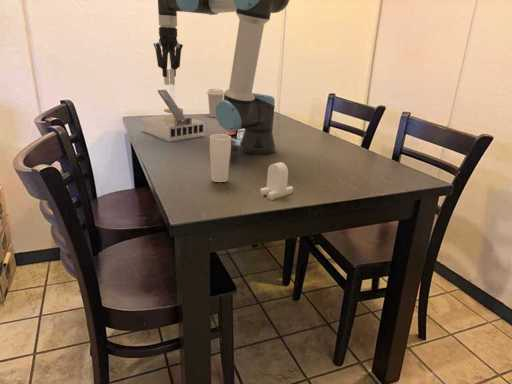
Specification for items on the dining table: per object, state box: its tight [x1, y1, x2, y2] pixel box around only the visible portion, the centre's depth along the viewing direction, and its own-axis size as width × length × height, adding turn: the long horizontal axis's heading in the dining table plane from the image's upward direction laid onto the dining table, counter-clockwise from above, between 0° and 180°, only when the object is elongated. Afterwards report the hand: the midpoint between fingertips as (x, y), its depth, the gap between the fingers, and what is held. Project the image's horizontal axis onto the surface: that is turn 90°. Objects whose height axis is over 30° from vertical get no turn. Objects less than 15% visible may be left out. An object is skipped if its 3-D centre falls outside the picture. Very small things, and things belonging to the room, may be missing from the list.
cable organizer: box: [259, 161, 294, 197], centre depth 117 cm, size 5×10×10 cm, turn 133°
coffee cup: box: [206, 88, 225, 118], centre depth 219 cm, size 10×10×15 cm
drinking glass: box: [209, 133, 232, 183], centre depth 124 cm, size 7×7×15 cm
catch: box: [163, 107, 184, 115], centre depth 185 cm, size 4×8×3 cm, turn 135°
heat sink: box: [141, 113, 205, 143], centre depth 178 cm, size 22×19×9 cm
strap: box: [157, 89, 188, 125], centre depth 173 cm, size 21×4×2 cm
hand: (169, 84), depth 170 cm, fingers open, 2 cm apart
